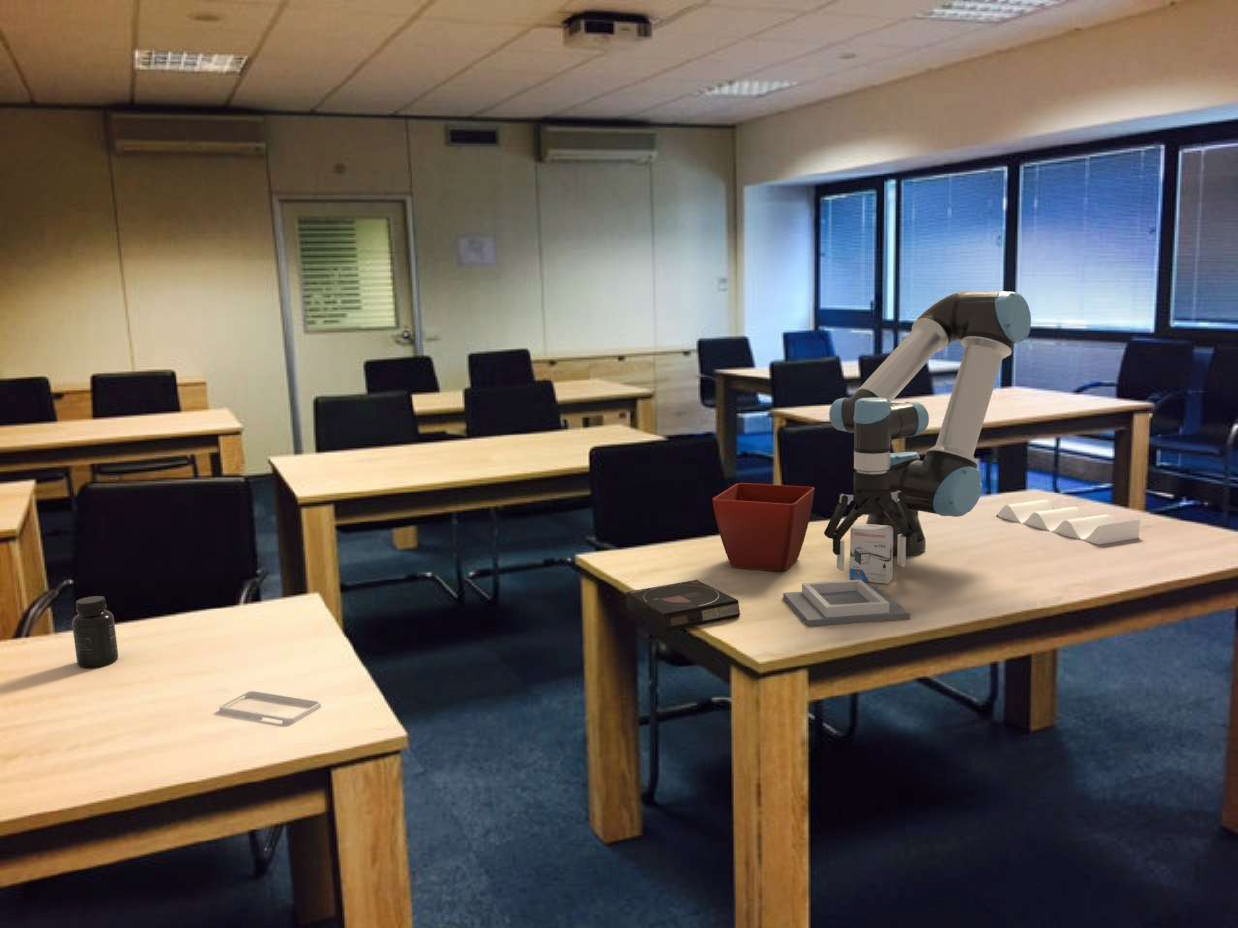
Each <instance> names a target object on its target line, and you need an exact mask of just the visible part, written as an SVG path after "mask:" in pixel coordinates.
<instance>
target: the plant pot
mask: <svg viewBox="0 0 1238 928" xmlns="http://www.w3.org/2000/svg"><path fill="white" fill-rule="evenodd" d="M814 494H815V487H813V486H803V485H802V486H799V485H782V484H767V483H766V484H765V483H750V482H749V483H746V482H744V483H743V482H740V483H735V484H734V485H732V486H731V487H729V488H728V489H727V488H726V490H724V491H722V492H721V493H719V494H718V495H716V496H714V497H713V498H712V499H711V500H712V506H713V511H714V516H715V520H716V524H717V529H718V533H719V535H720V539H721V542H722V545H723V548H724V552H725V554H726V556H727V559H728V561H729V564H730V566H731V568H735V569H747V570H759V571H768V572H780V573H782V572H785V571H786V570H788V569H789V568H790V567H791V566H792V565H793V564H794V563H795V562H796V561H797V559H798V558H799V557H800V554H801V552H802V549H803V548H802V547H803V545H804V542H805V538H806V534H807V530H808V527H809V522H810V517H811V514H812V509H813V503H814V496H815V495H814Z"/></svg>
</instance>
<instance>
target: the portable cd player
mask: <svg viewBox="0 0 1238 928" xmlns="http://www.w3.org/2000/svg"><path fill="white" fill-rule="evenodd" d="M625 593H626V595H625V596H626V597H625V598H626V599H625V600H626V609H627V610H628V611H630V612H632V613H633V614H635V615H637V616H638V617H640V618H642V619H643V620H644V621H646V622H648V623H649V624H651V625H653V626H654V627H655V628H658V629H659V630H661V631H663V632H664V633H666V632H672V631H677V630H682V629H687V628H692V627H698V626H703V625H708V624H713V623H718V622H723V621H729V620H734V619H739V618H740V615H741V610H740V606H739V604H740V603H739V599H737V598H735V597H733V596H731V595H729V594H727V593H725V592H723V591H720V589H719V590H718V589H717V588H715V587H713V586H710V585H709V584H706V583H705V582H702V581H700V580H698V579H693V580H688V581H683V582H675V583H670V584H664V585H658V586H653V587H647V588H641V589H636V590H635V589H634V590H632V591H630V590H628V591H626V592H625Z"/></svg>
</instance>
